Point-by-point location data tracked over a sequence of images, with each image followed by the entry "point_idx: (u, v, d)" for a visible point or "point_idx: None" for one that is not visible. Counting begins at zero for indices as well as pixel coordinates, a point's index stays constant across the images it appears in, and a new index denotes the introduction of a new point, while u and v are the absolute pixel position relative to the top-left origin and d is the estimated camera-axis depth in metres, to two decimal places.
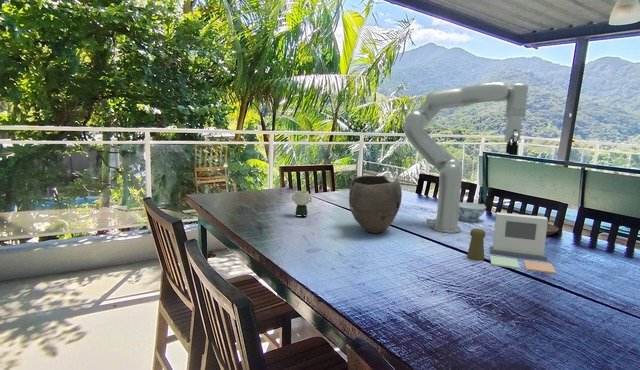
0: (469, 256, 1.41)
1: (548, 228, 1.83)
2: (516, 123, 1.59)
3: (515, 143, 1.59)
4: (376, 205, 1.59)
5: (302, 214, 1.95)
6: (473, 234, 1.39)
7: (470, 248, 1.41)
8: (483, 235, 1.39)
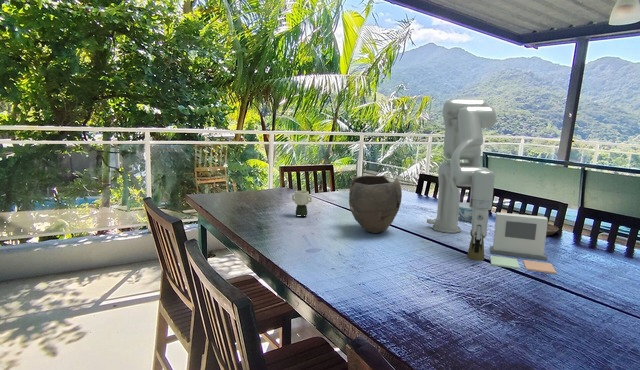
0: (469, 256, 1.41)
1: (548, 228, 1.83)
2: None
3: None
4: (376, 205, 1.59)
5: (302, 214, 1.95)
6: None
7: (470, 248, 1.41)
8: None
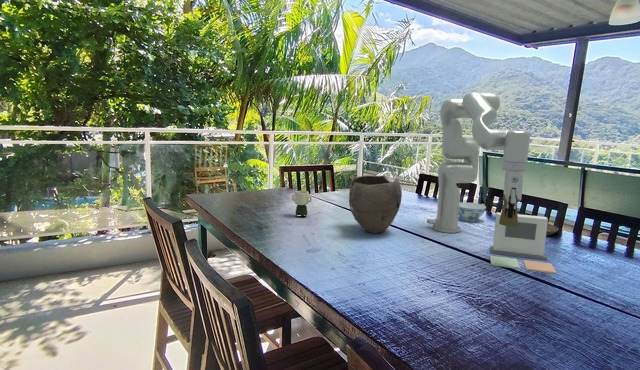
0: (502, 222, 1.34)
1: (548, 228, 1.83)
2: None
3: None
4: (376, 205, 1.59)
5: (302, 214, 1.95)
6: None
7: (503, 214, 1.34)
8: (517, 199, 1.32)
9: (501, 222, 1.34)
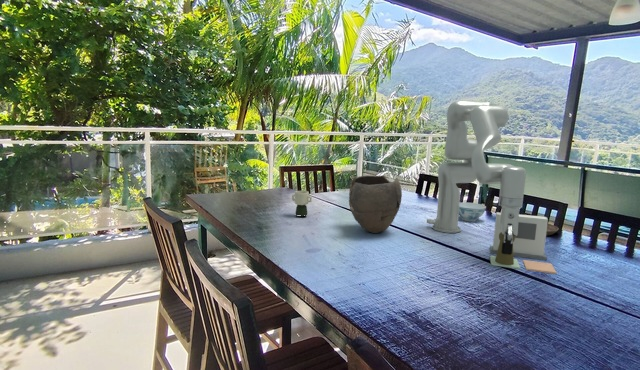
0: (498, 260, 1.36)
1: (548, 228, 1.83)
2: None
3: None
4: (376, 205, 1.59)
5: (302, 214, 1.95)
6: (503, 238, 1.34)
7: (499, 252, 1.36)
8: (513, 238, 1.33)
9: (497, 260, 1.36)
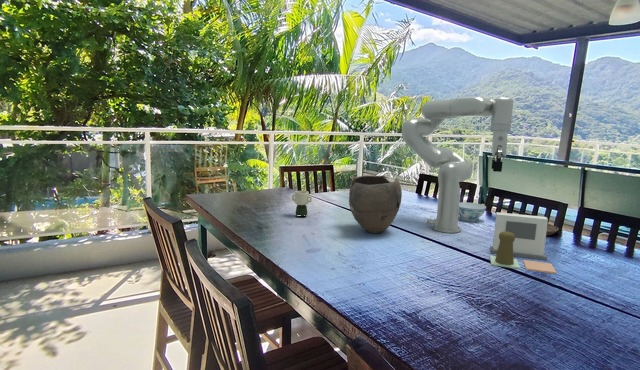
0: (498, 260, 1.36)
1: (548, 228, 1.83)
2: None
3: None
4: (376, 205, 1.59)
5: (302, 214, 1.95)
6: (503, 238, 1.34)
7: (499, 252, 1.36)
8: (513, 239, 1.33)
9: (497, 260, 1.36)
